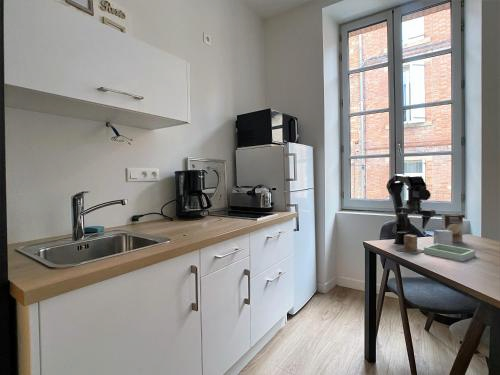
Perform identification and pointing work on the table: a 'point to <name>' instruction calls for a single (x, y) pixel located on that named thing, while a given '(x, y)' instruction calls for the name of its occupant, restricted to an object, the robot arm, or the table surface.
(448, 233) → the medicine box
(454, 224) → the coffee box
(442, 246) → the green square frame
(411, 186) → the robot arm
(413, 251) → the mat
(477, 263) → the table surface
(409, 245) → the walnut block
